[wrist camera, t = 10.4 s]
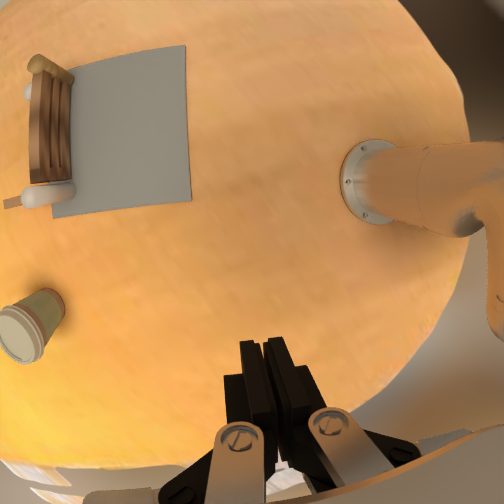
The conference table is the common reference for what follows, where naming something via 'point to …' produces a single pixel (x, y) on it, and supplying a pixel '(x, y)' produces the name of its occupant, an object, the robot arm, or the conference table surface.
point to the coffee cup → (30, 325)
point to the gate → (49, 121)
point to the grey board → (122, 136)
